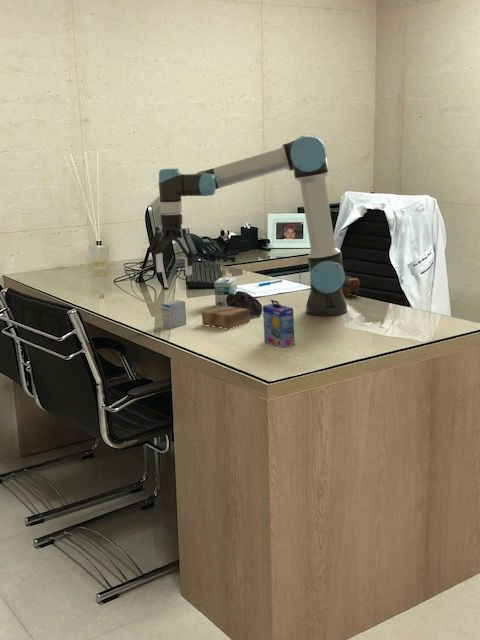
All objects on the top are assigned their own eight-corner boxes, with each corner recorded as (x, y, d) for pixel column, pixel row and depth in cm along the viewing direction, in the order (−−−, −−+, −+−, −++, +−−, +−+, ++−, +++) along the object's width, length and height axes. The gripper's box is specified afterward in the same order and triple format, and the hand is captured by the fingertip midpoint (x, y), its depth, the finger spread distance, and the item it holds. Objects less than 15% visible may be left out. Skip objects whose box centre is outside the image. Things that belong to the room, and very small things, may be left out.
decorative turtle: (352, 299, 314) (350, 279, 312) (326, 296, 326) (324, 277, 324) (369, 294, 319) (367, 275, 318) (343, 291, 331) (341, 273, 330)
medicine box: (177, 322, 288) (176, 299, 286) (186, 324, 285) (185, 300, 283) (162, 327, 282) (160, 303, 280) (171, 329, 279) (169, 305, 277)
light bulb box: (232, 309, 305) (231, 282, 302) (215, 309, 306) (213, 282, 304) (237, 303, 315) (236, 277, 313) (221, 303, 316) (220, 277, 314)
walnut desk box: (249, 322, 285) (249, 308, 284) (229, 330, 276) (228, 315, 274) (223, 319, 292) (222, 305, 291) (202, 326, 283) (201, 312, 282)
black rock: (270, 314, 298) (268, 288, 297) (252, 319, 287) (250, 292, 285) (239, 314, 305) (238, 288, 304) (221, 319, 293) (219, 292, 292)
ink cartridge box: (263, 342, 258) (261, 298, 255) (276, 339, 261) (275, 295, 258) (281, 348, 250) (280, 303, 247) (295, 345, 253) (294, 300, 250)
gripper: (205, 214, 274) (208, 274, 279) (152, 211, 288) (155, 268, 294) (191, 216, 268) (194, 278, 273) (137, 213, 283) (141, 272, 288)
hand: (174, 273), depth 283 cm, fingers open, 13 cm apart
